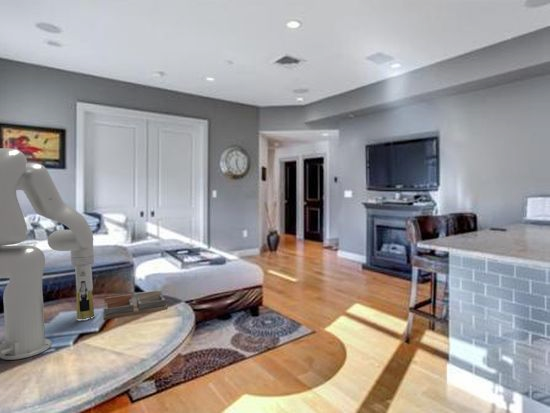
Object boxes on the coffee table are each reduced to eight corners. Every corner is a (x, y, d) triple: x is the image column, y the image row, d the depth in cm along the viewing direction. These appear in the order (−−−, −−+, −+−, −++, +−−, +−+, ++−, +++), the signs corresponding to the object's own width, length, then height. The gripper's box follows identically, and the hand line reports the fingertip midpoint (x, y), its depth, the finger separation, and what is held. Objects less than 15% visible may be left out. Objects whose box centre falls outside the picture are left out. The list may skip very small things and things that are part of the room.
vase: (98, 316, 135) (96, 279, 135) (88, 321, 129) (86, 283, 129) (83, 316, 136) (81, 279, 136) (72, 321, 130) (70, 283, 130)
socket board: (167, 309, 141) (166, 295, 141) (103, 319, 131) (103, 305, 131) (162, 301, 152) (162, 289, 152) (103, 311, 141) (102, 297, 141)
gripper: (93, 263, 126) (96, 313, 127) (94, 256, 141) (96, 301, 142) (69, 265, 123) (72, 317, 123) (72, 258, 138) (75, 304, 139)
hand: (85, 308), depth 133 cm, fingers closed on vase, 5 cm apart
